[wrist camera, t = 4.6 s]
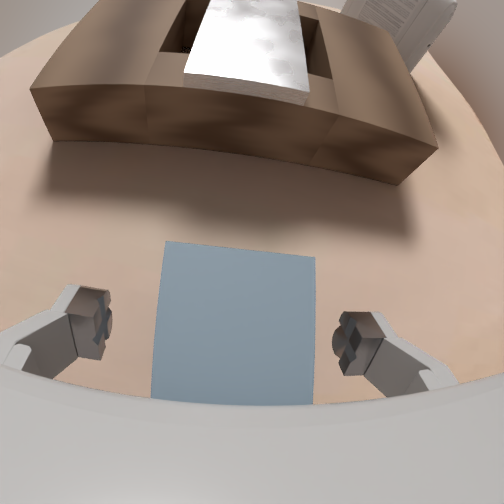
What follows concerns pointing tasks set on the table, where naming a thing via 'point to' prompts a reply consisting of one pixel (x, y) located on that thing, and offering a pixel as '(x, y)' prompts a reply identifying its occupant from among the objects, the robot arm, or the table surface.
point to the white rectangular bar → (250, 50)
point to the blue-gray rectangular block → (234, 327)
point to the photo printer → (405, 22)
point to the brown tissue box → (232, 104)
